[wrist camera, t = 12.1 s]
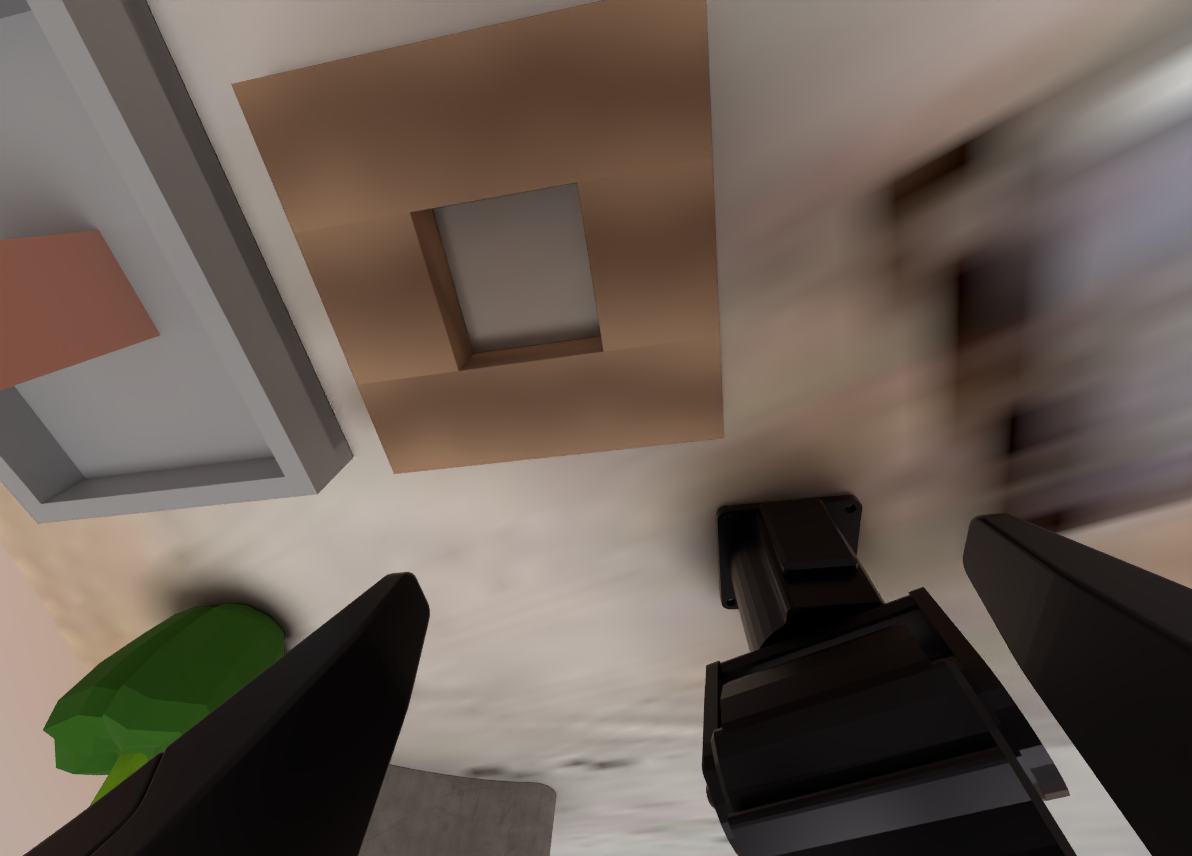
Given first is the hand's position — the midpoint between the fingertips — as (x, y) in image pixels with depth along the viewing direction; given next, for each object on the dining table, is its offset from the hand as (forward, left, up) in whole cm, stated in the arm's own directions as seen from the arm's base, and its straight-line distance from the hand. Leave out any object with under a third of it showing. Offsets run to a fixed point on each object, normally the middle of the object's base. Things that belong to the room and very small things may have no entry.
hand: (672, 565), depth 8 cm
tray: (+5, +21, -13) cm, 25 cm away
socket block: (+3, +4, -13) cm, 14 cm away
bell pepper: (-15, +26, -13) cm, 33 cm away
